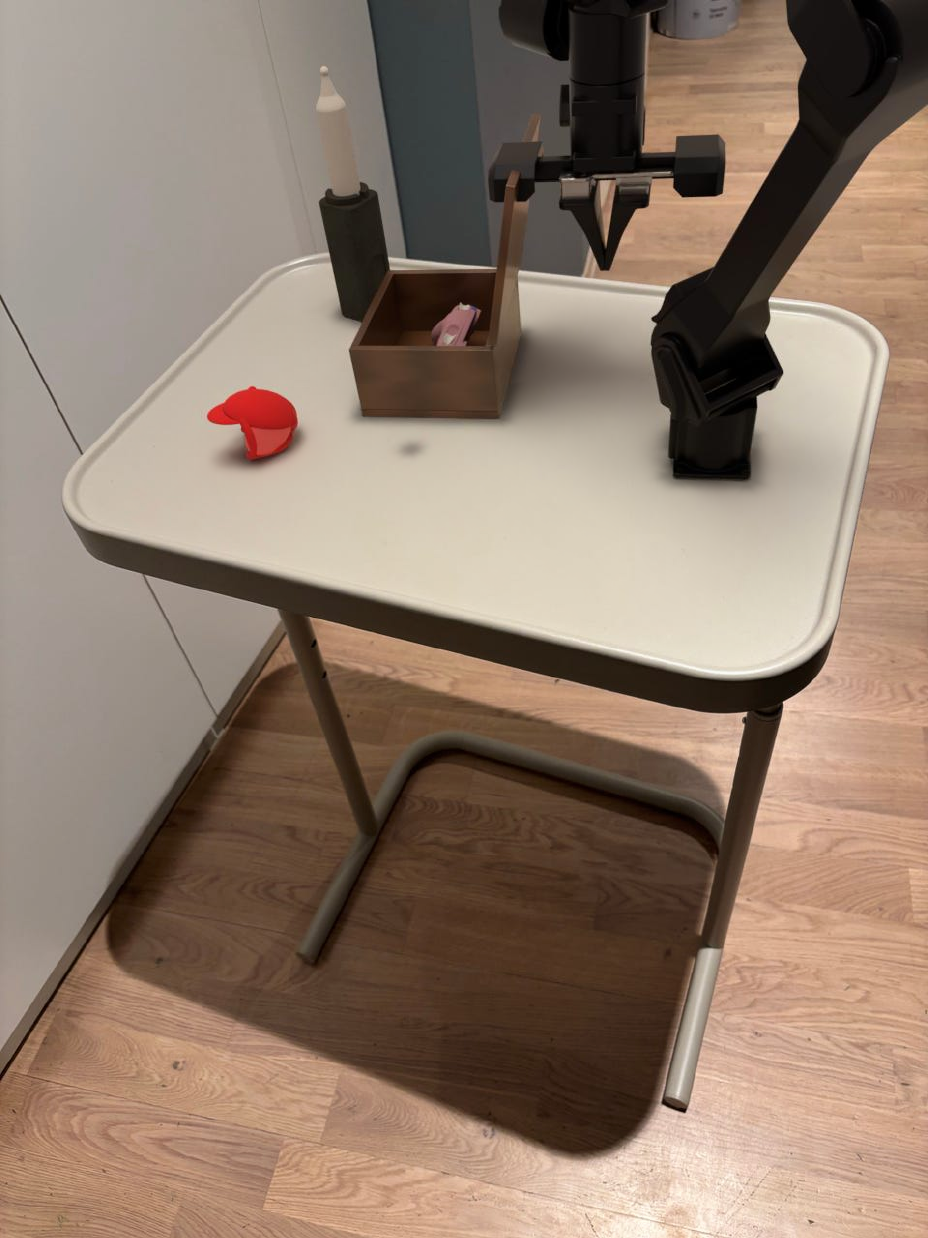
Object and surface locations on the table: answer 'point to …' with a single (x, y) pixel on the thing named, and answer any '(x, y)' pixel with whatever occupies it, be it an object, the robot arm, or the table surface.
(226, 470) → the table surface
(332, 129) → the candle
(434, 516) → the table surface
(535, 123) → the lid
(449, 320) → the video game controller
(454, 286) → the chest
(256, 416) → the cap
